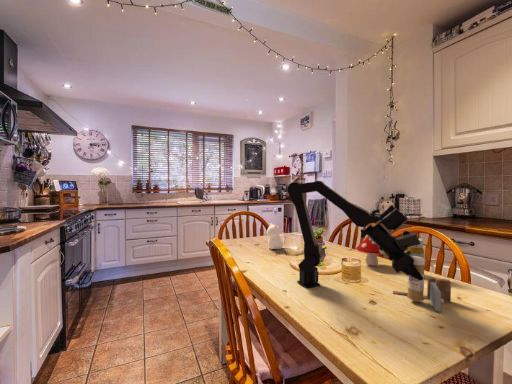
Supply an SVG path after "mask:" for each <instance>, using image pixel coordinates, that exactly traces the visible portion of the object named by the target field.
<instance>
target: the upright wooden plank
mask: <svg viewBox="0 0 512 384" xmlns="http://www.w3.org/2000/svg"><path fill="white" fill-rule="evenodd" d="M430 282H434V283H435V284H436V285H437V287H438V289H439V290H440V292H441V299H444V303H452V301H451V298H452V297H451V296H452V281H451V279H448V278H447V279H446V278H439V277H433V276H429V277H427V288H426V289H427V291H426V292H427V293H426V294H427V295H424V294H423V298H424V300H425V299H426V300H430ZM392 293H393V294H394V295H399V296H406V297H407V295H408V292H404V291H397V290H392Z"/></svg>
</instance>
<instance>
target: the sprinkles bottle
mask: <svg viewBox="0 0 512 384" xmlns="http://www.w3.org/2000/svg"><path fill="white" fill-rule="evenodd" d="M412 257H413V258H414V260H415V261H414V266H415V267H416V268H417V270H418V271H419V273H420V274H421V275H422V277H423V278H424V279H423V280H421V281H420V280H418V279H416V278H414V277H412V276H410V275H407V277H408V279H407V293H408V295H407V296H406V297H407V299H409V300H411V301H415V302H423V301H424V300H425V299H424V298H423V295H424V290H425V265H426V259H425V257H424V258H422V257H418V256H412Z"/></svg>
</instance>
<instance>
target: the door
mask: <svg viewBox="0 0 512 384" xmlns="http://www.w3.org/2000/svg"><path fill="white" fill-rule="evenodd" d="M429 300H430V302H431V303H432V304H431V305H432V306H433V308H434V310H435V311H436V312H440V313H441V312H442V311H441V310H442V303H445V302H444V299H441V292H440V290H439V289H438V287H437V285H436V284H435V283H434V282H430V299H429Z"/></svg>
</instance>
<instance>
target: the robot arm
mask: <svg viewBox="0 0 512 384" xmlns="http://www.w3.org/2000/svg"><path fill="white" fill-rule="evenodd" d="M286 192H287V194H288V196H289V199H290V202H291V203H292V204H293V205H294V207H295V211H296V215H297V219H298V222H299V224H298V225H299V227H300V231H301V232H300V233H301V234H302V235H301V236H302V240H303V260H301V262H299V264H297V266H298V269H299V270H298V271H299V275H298V277H299V280H296V283H297V284H299V285H300V286H302V287H304V288H306V289H310V288H314V287H319V286H321V283H319V271H318V270H319V269H318V266H319V265H320V263H321V262H322V261H323V258H324V254H325V252H324V250H323V244H322V242H320V243H319V242H317V240H316V238H315V237H316V236H315V234H314V233H315V232H314V230H313V229H314V228H313V226H312V220H311V218H310V213H309V211H308V210H309V209H308V205H307V200H308V199H307V197H308V195H307V194H308V193H314V192H316V193H318V194H320V195H321V196H323V197H324V198H325V199H326V200H327V201H329V202H330V203H331V204H332V205H334V206H336V207H337V208H338V209H340V210H341V211H342V212H343V213H344V214H345V215H346V216H347V217H348V219H349V220H350V221H351V222H352V224H354V225H355V226H357V227H359V228H360V238H361V239H364V238H366V237H367V236H368V237H369V238H370V239H371V240H372V241H373V242H374V243H375V244H376V245H377V246H378V247H379V249H380V250H381V251H383V252H384V253H385V254H384V255H386V256H387V257H388V259H389V261H390V262H391V268H392V270H394V271H395V272H396V273H397V274H398V273H404V274H405V275H407V274H408V275H410V276H412V277H414V278H416V279H418V280H420V281H421V280H423V279H424V280H425V277H424V278H423V277H422V275H421V274H420V273H419V271H418V270H417V268H416V267H415V266H414V261H415V260H414V258H413V257H412V256H411V252H410V251H408V252H404V251H406V249H407V250H408V247H410V246H414V245H419V244H421V243H420V241H419V239H420V238H419V237H418V235H417V233H416V232H410V231H409V230H406V229H405V230H404V231H402V234H401V235H400V236H399V237H396V236H395V235H392V234H391V233H390V232H389V231H392V230H393V231H396V230H397V229H399V228H401V226H402V225H404V224H405V223H406V222H408V221H409V218H408V217H406V216H405V215H404V214H403V212H401V211H400V210H398V209H397V208H396V207H395V206H394V205H393V204H390V205H389V206H388V207H387V208H386V209H385V210H384V211H383V212H382V213H381V214H377V213H370V211H368V210H367V209H365V208H363V207H361V206H360V205H357V204H354V203H352V202H350V201H349V200H348V199H346V198H345V197H343V195H340V194H339V193H338V192H337V191H335V190H333V189H332V188H331V187H330V186H328V185H327V184H325V182H324V181H323V180H315V181H311V182H300V181H292V182H290V183H289V184H288V186H287V188H286ZM373 224H374V225H373ZM418 238H419V239H418ZM408 275H407V276H408Z"/></svg>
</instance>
